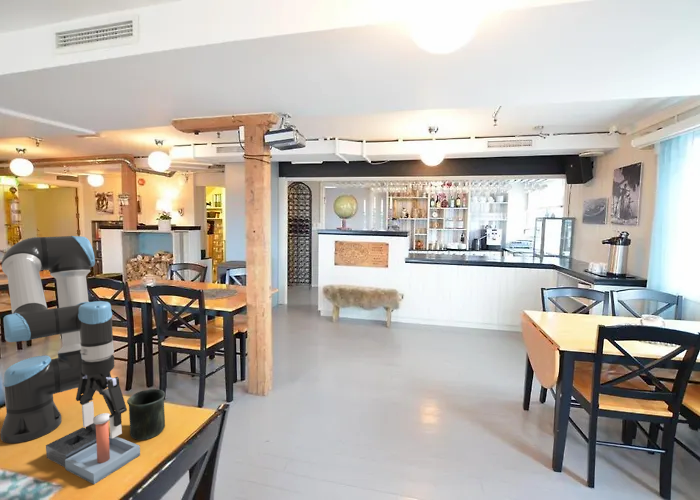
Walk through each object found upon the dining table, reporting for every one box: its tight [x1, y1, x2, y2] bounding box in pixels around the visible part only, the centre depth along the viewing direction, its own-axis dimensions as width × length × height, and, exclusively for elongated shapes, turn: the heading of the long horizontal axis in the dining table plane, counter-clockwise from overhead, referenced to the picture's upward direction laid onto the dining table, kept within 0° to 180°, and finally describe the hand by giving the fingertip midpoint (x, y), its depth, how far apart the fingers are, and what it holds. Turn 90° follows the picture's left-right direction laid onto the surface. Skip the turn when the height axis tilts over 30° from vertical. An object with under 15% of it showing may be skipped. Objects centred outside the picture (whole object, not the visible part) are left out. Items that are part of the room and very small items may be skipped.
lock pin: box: [93, 412, 111, 463], centre depth 103 cm, size 4×4×13 cm
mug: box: [126, 388, 166, 441], centre depth 120 cm, size 11×15×12 cm
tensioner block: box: [45, 423, 96, 468], centre depth 109 cm, size 10×12×8 cm
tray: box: [64, 435, 141, 485], centre depth 104 cm, size 13×13×3 cm
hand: (102, 430), depth 103 cm, fingers open, 12 cm apart
